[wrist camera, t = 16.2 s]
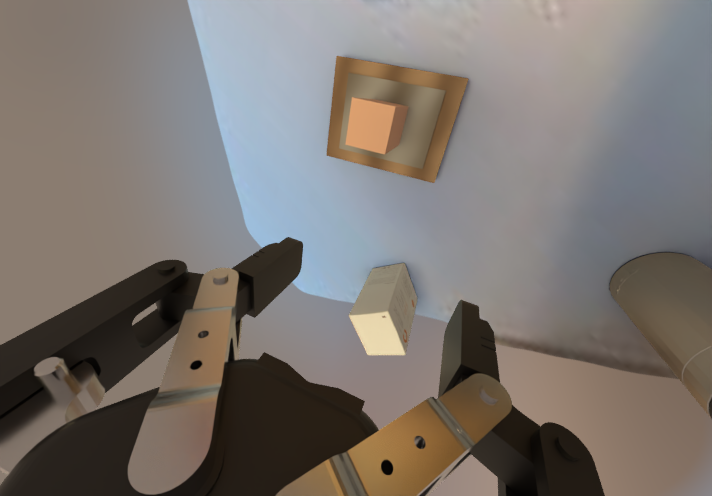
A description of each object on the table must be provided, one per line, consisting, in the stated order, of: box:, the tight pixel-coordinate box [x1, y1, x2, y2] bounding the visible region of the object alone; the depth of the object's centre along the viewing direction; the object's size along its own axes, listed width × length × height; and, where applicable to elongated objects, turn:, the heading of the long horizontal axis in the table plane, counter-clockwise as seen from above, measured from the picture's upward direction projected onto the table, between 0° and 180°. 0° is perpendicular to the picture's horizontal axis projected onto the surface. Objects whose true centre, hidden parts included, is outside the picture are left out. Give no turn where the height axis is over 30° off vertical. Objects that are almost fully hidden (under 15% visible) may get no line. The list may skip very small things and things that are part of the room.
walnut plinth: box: [327, 56, 468, 183], centre depth 35 cm, size 16×12×3 cm
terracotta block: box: [345, 97, 409, 154], centre depth 30 cm, size 4×4×8 cm
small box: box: [349, 263, 417, 355], centre depth 43 cm, size 8×6×13 cm
